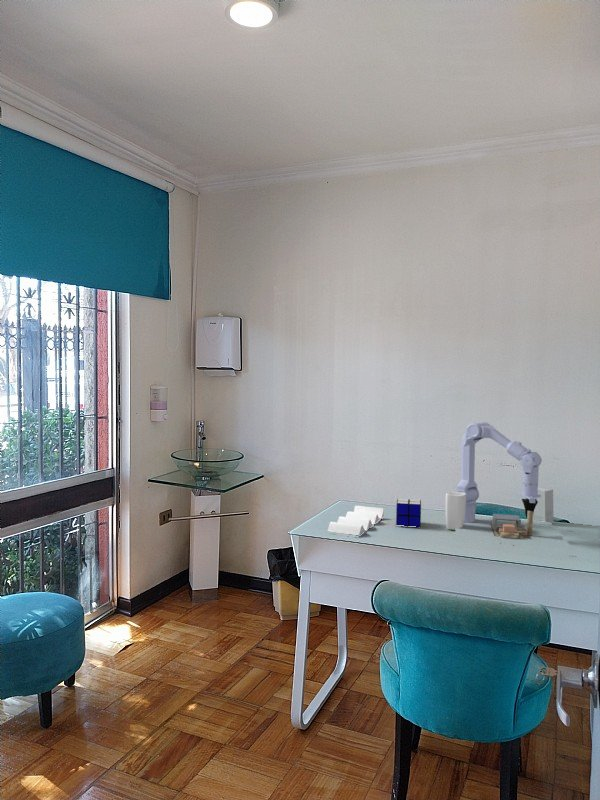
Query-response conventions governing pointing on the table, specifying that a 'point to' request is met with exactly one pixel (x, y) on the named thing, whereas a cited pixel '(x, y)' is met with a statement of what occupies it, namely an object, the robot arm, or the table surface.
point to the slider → (516, 534)
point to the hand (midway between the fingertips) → (529, 517)
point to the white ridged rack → (357, 520)
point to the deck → (515, 529)
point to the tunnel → (506, 518)
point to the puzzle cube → (408, 512)
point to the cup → (455, 509)
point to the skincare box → (544, 506)
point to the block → (508, 528)
